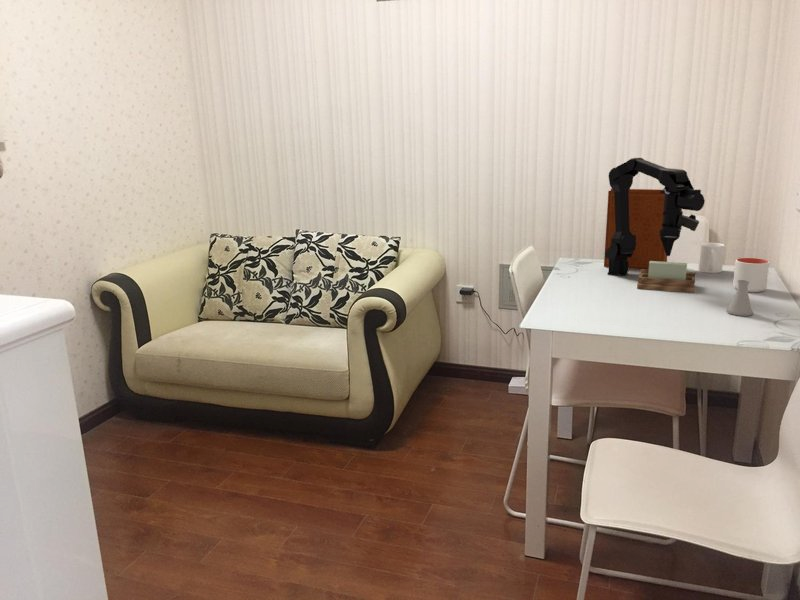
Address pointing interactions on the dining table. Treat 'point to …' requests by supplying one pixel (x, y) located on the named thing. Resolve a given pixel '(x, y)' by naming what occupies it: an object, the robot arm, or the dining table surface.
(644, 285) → the box
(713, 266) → the mug
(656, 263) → the pale green box
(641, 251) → the book
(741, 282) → the flask
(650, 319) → the dining table surface
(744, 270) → the cup
